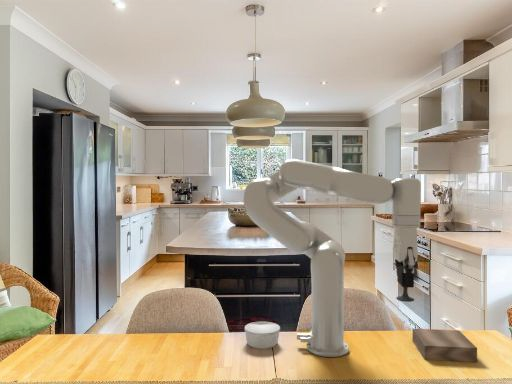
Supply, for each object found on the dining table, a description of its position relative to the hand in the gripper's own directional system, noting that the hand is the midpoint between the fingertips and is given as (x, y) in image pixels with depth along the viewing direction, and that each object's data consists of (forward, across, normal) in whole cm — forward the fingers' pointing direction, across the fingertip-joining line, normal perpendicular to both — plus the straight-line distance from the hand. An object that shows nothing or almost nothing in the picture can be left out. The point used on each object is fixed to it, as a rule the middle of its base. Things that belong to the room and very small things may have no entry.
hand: (405, 283), depth 118 cm
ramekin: (+22, -5, -42) cm, 47 cm away
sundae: (+5, 0, 0) cm, 5 cm away
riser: (+21, -6, +12) cm, 25 cm away
